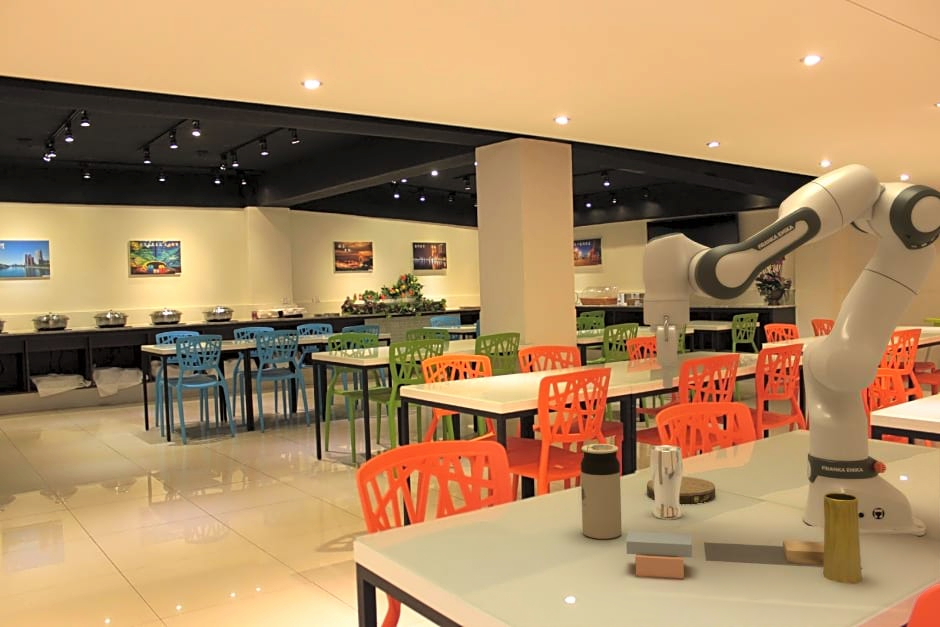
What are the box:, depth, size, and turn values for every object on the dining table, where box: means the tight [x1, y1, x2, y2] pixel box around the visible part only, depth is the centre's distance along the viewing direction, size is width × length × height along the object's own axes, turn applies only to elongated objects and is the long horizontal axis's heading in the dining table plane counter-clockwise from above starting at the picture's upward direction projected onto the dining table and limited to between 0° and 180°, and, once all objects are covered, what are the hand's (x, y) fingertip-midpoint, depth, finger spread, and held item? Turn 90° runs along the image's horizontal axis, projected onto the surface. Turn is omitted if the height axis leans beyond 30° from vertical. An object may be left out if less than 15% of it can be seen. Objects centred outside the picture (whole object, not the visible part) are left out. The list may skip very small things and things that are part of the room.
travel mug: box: [580, 443, 623, 540], centre depth 158 cm, size 8×8×18 cm
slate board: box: [626, 531, 693, 558], centre depth 135 cm, size 11×6×2 cm, turn 75°
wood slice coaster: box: [646, 476, 716, 506], centre depth 185 cm, size 16×16×3 cm
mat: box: [703, 541, 863, 570], centre depth 141 cm, size 26×10×1 cm, turn 75°
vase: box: [822, 493, 863, 584], centre depth 130 cm, size 6×6×14 cm
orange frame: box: [635, 554, 685, 580], centre depth 135 cm, size 8×8×4 cm
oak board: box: [782, 540, 824, 564], centre depth 138 cm, size 11×6×2 cm, turn 75°
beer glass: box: [649, 444, 684, 520], centre depth 169 cm, size 7×7×15 cm
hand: (668, 384), depth 152 cm, fingers open, 8 cm apart
